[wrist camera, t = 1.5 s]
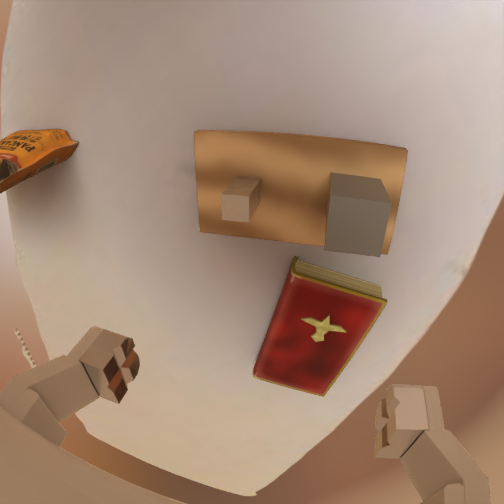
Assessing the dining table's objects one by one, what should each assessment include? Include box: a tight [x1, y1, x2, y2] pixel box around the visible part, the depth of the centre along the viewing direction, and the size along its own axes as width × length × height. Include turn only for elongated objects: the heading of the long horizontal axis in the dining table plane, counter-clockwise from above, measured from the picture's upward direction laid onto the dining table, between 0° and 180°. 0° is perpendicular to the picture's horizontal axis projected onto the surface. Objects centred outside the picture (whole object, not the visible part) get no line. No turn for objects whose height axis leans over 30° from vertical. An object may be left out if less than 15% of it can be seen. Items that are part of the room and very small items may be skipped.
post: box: [221, 176, 261, 223], centre depth 32 cm, size 3×3×6 cm
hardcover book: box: [253, 256, 387, 397], centre depth 42 cm, size 12×21×4 cm, turn 168°
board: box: [194, 130, 408, 254], centre depth 34 cm, size 12×22×1 cm, turn 90°
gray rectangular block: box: [324, 172, 392, 257], centre depth 29 cm, size 5×5×7 cm
